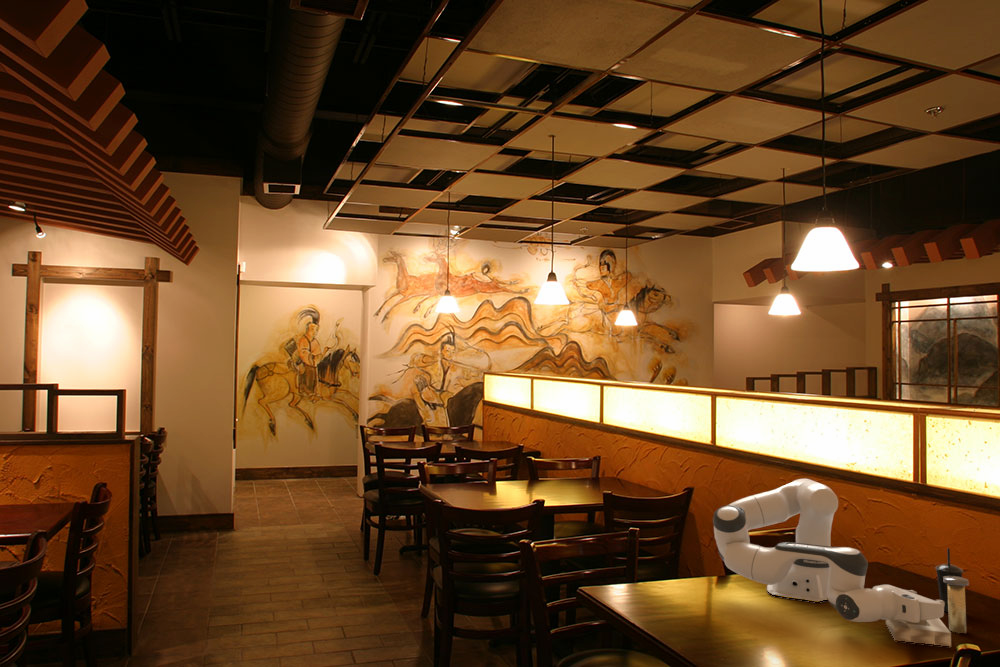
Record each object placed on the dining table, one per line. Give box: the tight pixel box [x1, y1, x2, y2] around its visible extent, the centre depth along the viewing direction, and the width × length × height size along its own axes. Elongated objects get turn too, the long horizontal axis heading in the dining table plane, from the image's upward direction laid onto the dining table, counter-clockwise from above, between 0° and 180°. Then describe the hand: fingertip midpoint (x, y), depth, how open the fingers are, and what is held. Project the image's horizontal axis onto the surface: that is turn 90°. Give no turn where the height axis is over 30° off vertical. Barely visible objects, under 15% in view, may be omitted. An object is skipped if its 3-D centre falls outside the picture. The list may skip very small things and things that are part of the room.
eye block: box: [885, 618, 952, 648], centre depth 208 cm, size 14×14×4 cm
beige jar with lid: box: [943, 576, 970, 634], centre depth 213 cm, size 6×6×15 cm
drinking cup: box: [935, 547, 964, 613], centre depth 230 cm, size 8×8×20 cm
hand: (928, 598), depth 210 cm, fingers open, 8 cm apart
